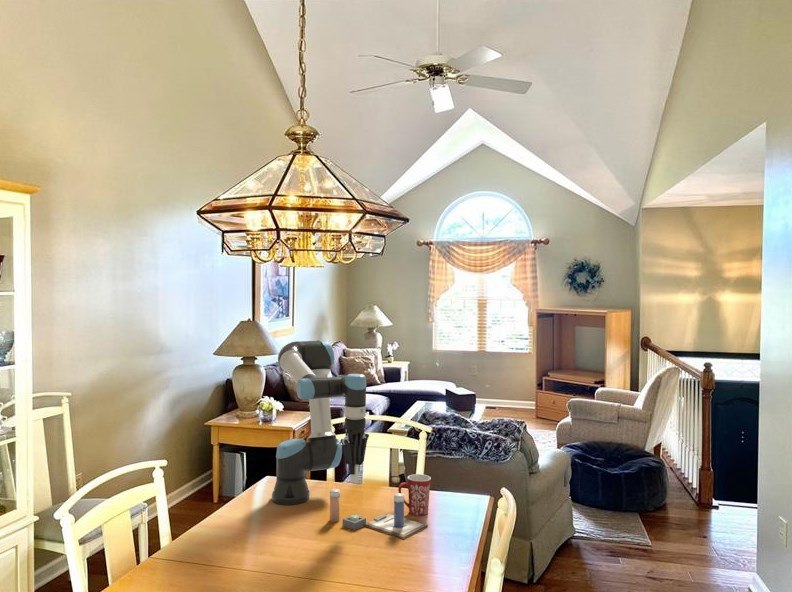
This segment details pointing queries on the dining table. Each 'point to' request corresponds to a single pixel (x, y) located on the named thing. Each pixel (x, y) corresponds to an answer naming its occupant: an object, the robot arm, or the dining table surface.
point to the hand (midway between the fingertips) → (354, 482)
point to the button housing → (354, 523)
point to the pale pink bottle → (334, 505)
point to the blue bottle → (398, 510)
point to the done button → (354, 518)
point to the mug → (417, 494)
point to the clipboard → (387, 526)
